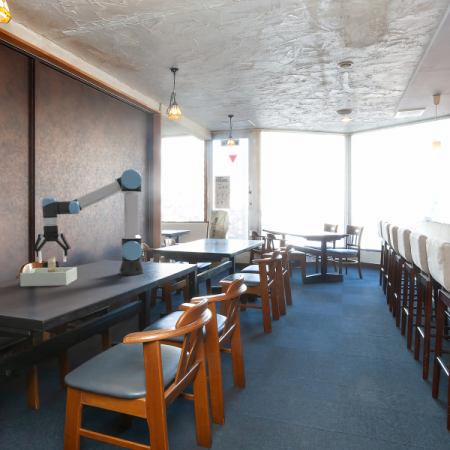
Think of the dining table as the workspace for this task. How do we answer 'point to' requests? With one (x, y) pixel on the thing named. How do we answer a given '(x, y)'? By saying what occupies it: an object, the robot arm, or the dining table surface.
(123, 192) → the robot arm
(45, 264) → the mug
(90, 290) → the dining table surface
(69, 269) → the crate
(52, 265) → the dowel
